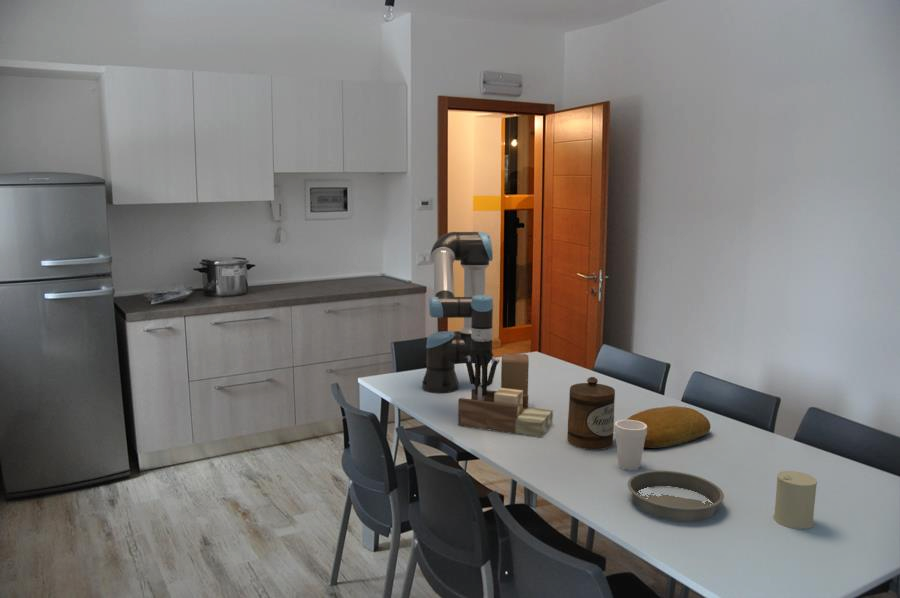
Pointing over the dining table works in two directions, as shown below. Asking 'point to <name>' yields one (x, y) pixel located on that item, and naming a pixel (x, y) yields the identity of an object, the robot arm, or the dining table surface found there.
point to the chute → (502, 415)
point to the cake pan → (670, 504)
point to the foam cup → (630, 442)
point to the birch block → (510, 397)
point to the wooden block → (515, 372)
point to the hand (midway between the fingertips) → (480, 403)
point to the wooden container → (591, 415)
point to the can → (795, 499)
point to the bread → (672, 425)
